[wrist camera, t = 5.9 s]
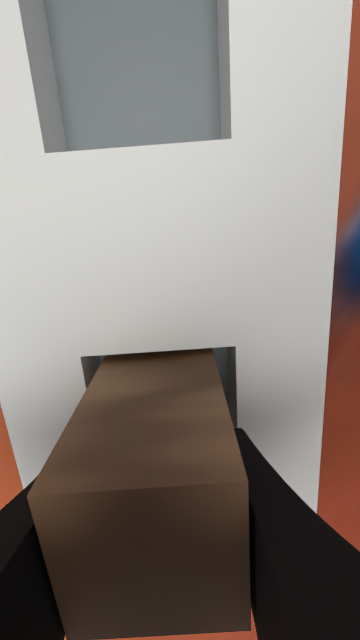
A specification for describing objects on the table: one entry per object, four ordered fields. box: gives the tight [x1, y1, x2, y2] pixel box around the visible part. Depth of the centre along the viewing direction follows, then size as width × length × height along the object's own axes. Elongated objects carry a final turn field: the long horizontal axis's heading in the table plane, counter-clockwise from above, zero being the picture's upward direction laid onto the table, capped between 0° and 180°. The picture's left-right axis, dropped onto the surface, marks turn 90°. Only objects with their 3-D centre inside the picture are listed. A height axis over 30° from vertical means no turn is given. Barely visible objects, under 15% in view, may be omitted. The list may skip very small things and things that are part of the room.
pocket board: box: [0, 0, 353, 514], centre depth 11 cm, size 12×24×2 cm, turn 4°
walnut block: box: [27, 348, 251, 640], centre depth 10 cm, size 4×4×7 cm
